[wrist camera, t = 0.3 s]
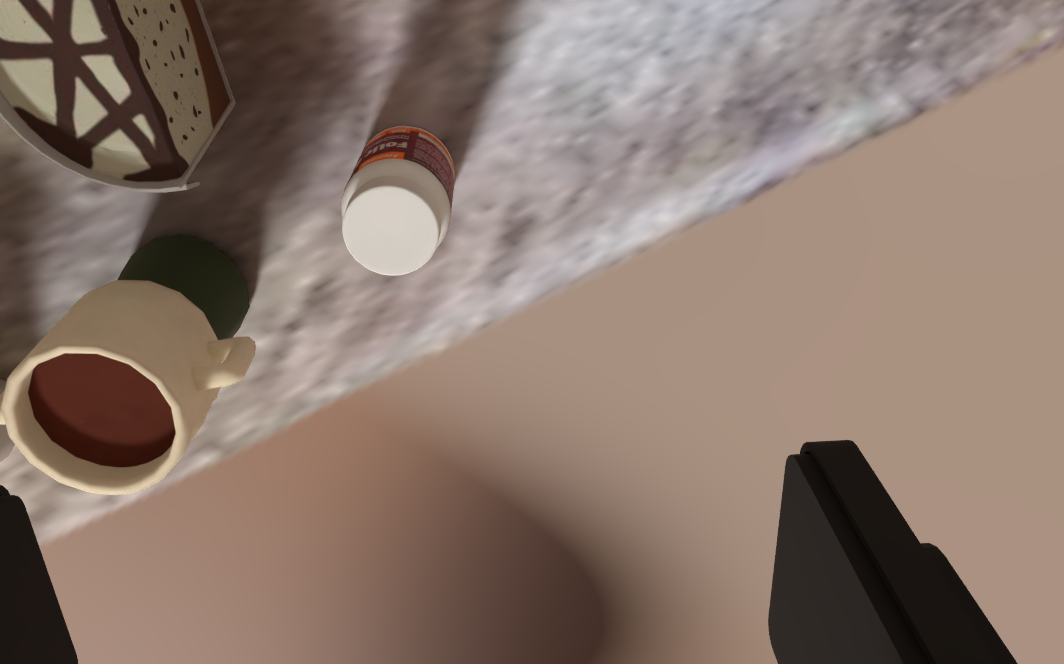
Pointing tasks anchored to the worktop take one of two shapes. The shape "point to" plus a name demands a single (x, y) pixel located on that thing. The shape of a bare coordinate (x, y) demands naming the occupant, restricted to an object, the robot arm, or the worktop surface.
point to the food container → (114, 87)
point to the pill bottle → (398, 200)
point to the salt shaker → (4, 433)
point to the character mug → (131, 370)
